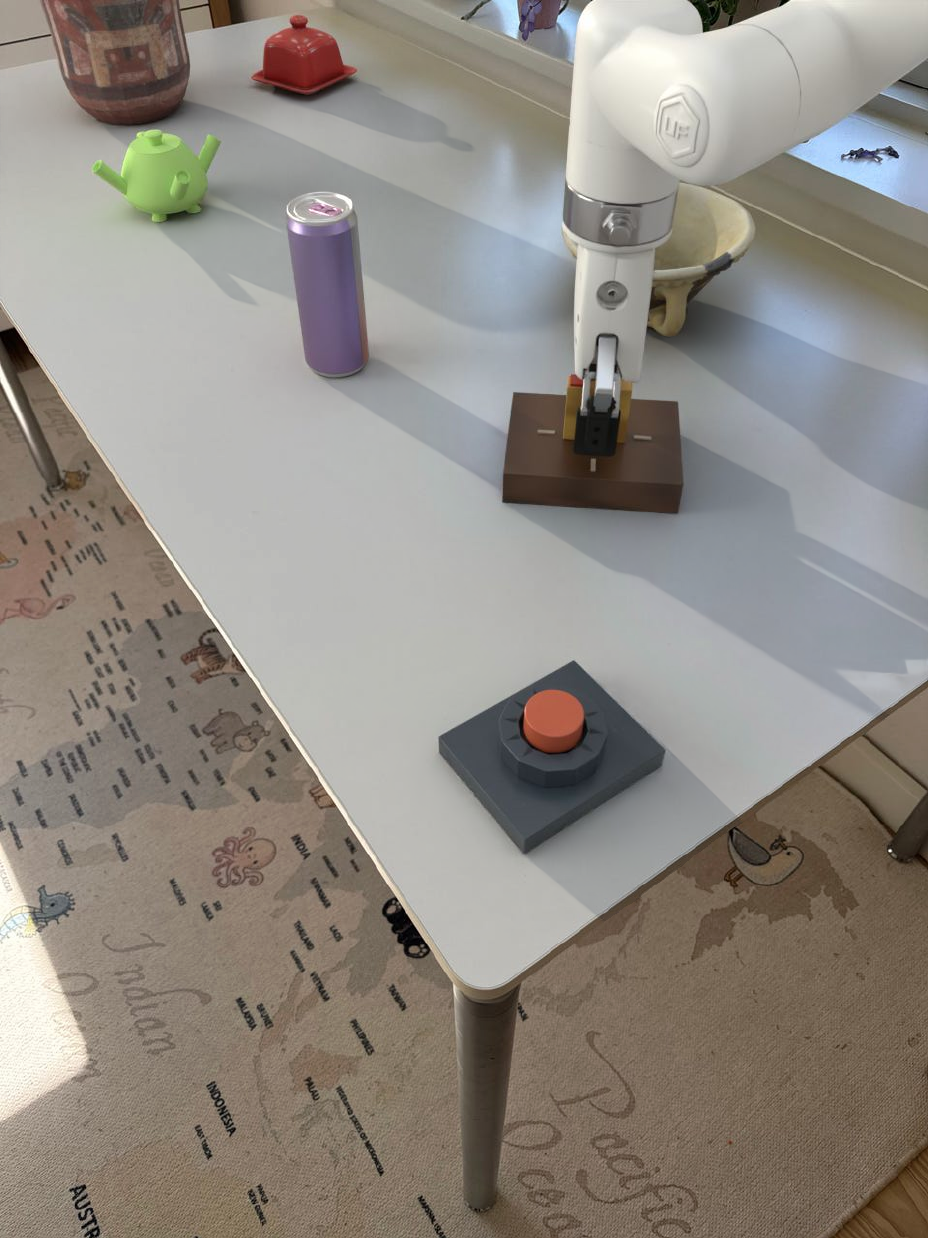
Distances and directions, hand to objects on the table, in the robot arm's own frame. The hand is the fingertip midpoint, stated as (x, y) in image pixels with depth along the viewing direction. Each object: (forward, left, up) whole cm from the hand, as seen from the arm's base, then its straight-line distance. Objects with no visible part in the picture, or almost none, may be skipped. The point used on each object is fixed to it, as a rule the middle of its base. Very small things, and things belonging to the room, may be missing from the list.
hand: (595, 415), depth 80 cm
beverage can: (+24, -13, -5) cm, 28 cm away
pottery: (+63, -71, -5) cm, 95 cm away
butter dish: (+42, -82, -5) cm, 92 cm away
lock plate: (0, 0, -5) cm, 5 cm away
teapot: (+49, -42, -5) cm, 65 cm away
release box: (+2, +30, -5) cm, 31 cm away
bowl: (-5, -25, -5) cm, 26 cm away
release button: (+2, +30, -2) cm, 30 cm away
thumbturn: (0, 0, -2) cm, 2 cm away
